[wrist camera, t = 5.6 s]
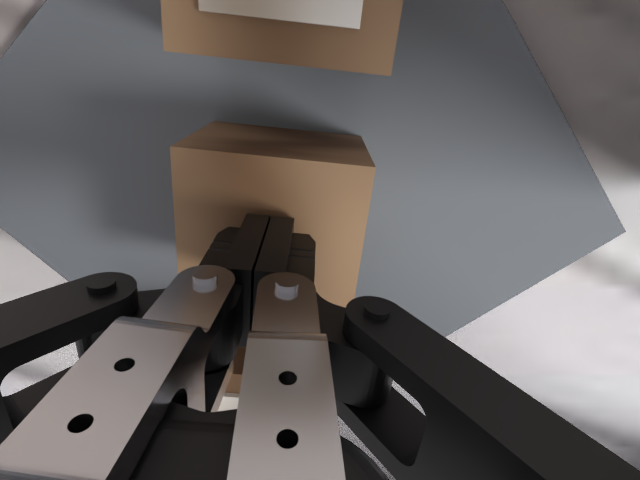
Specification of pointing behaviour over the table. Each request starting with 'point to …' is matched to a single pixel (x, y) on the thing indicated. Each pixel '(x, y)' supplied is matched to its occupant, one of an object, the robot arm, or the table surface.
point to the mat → (312, 115)
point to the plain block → (275, 193)
